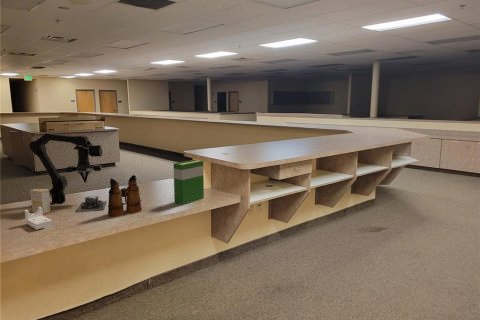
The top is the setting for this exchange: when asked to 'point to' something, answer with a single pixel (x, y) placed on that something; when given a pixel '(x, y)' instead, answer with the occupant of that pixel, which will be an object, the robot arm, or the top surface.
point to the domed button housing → (91, 200)
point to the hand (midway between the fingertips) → (85, 182)
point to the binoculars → (132, 198)
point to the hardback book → (188, 181)
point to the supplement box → (40, 200)
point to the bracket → (37, 219)
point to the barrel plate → (92, 206)
